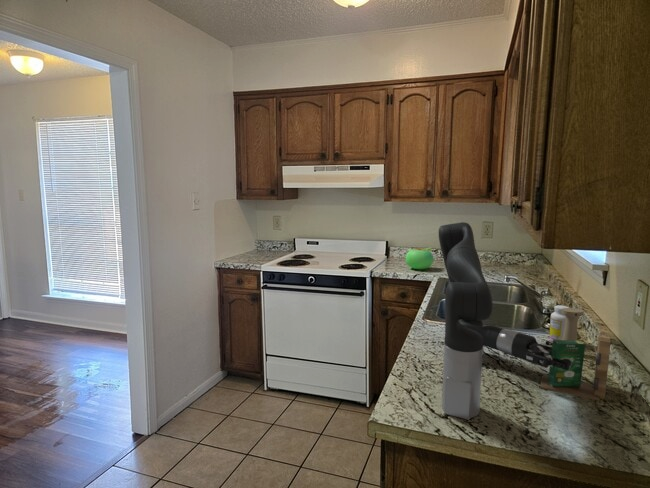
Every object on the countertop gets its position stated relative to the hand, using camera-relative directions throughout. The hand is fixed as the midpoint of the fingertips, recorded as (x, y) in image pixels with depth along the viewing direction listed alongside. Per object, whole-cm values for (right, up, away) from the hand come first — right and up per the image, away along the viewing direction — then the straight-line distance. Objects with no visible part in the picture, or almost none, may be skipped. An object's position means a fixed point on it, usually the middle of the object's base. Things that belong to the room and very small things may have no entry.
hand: (574, 362), depth 114 cm
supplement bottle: (+16, -3, +36) cm, 40 cm away
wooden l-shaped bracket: (+1, -8, +4) cm, 9 cm away
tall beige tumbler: (+14, -4, +26) cm, 30 cm away
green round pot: (-7, +16, +160) cm, 160 cm away
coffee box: (-1, -7, +3) cm, 8 cm away
